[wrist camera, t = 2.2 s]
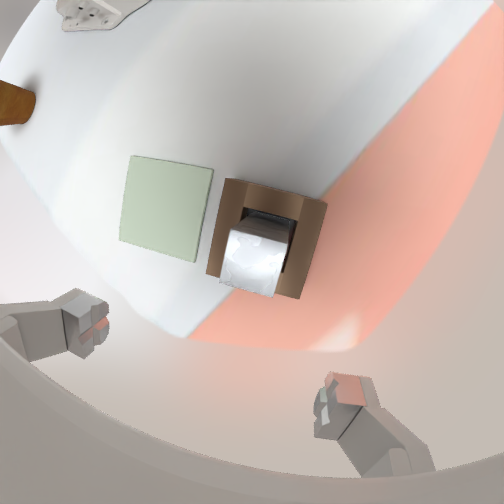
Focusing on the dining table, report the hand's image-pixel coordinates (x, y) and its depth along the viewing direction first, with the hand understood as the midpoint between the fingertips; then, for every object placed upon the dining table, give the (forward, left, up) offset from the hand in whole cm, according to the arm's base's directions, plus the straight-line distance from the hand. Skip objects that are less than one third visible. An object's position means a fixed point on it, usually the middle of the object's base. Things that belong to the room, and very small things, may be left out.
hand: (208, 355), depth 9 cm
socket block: (0, 0, -23) cm, 23 cm away
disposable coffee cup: (-48, +13, -23) cm, 55 cm away
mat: (-13, 0, -23) cm, 26 cm away
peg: (0, 0, -23) cm, 23 cm away
